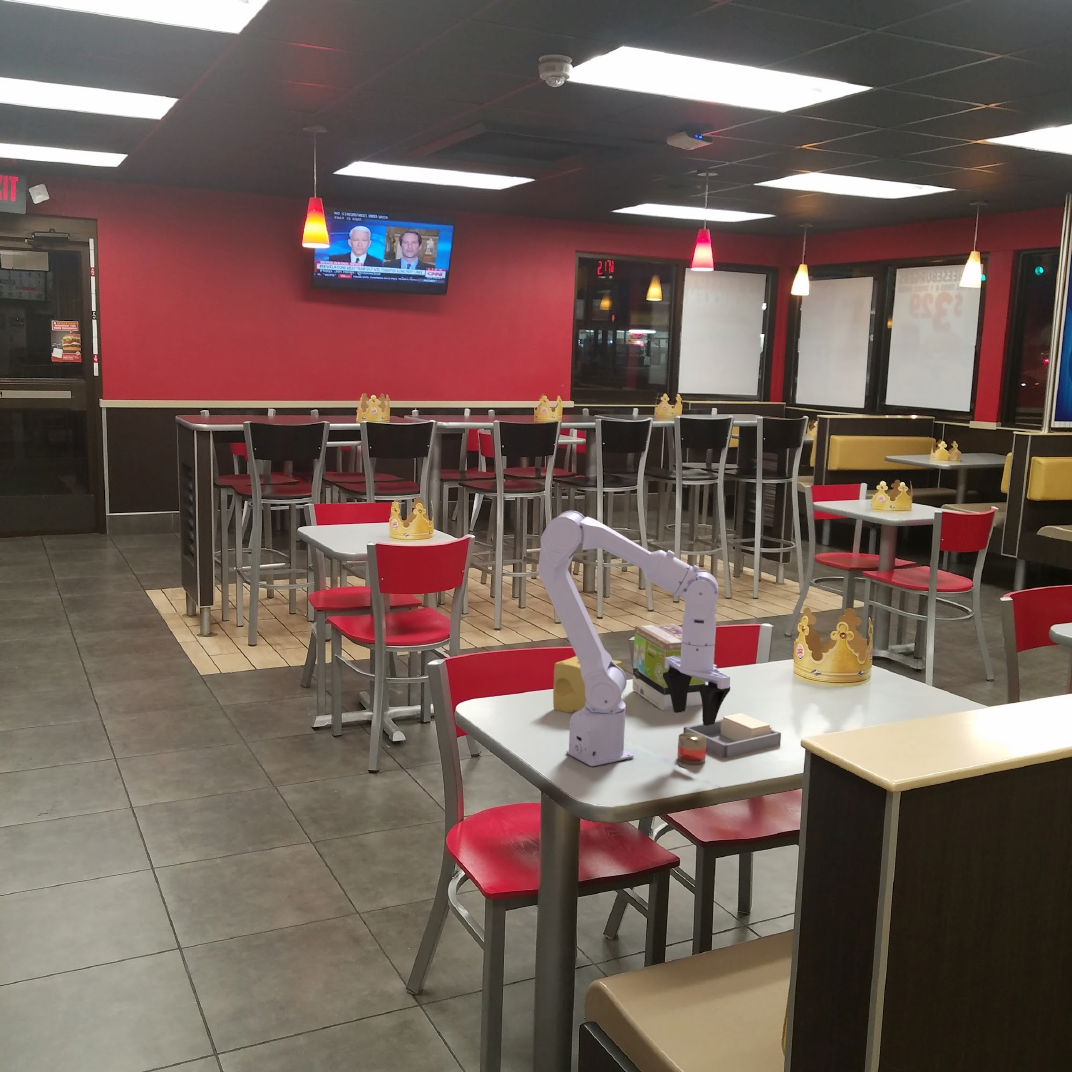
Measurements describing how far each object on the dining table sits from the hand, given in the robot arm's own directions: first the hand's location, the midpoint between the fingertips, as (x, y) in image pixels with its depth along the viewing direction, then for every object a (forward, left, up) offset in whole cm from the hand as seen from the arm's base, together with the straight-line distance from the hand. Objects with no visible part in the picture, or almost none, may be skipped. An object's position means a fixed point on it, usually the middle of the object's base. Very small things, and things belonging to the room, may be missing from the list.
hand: (693, 717), depth 182 cm
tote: (+13, +3, -8) cm, 16 cm away
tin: (0, 0, -8) cm, 9 cm away
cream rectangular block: (+16, +3, -8) cm, 18 cm away
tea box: (+21, +31, -9) cm, 38 cm away
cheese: (+2, +34, -9) cm, 35 cm away
